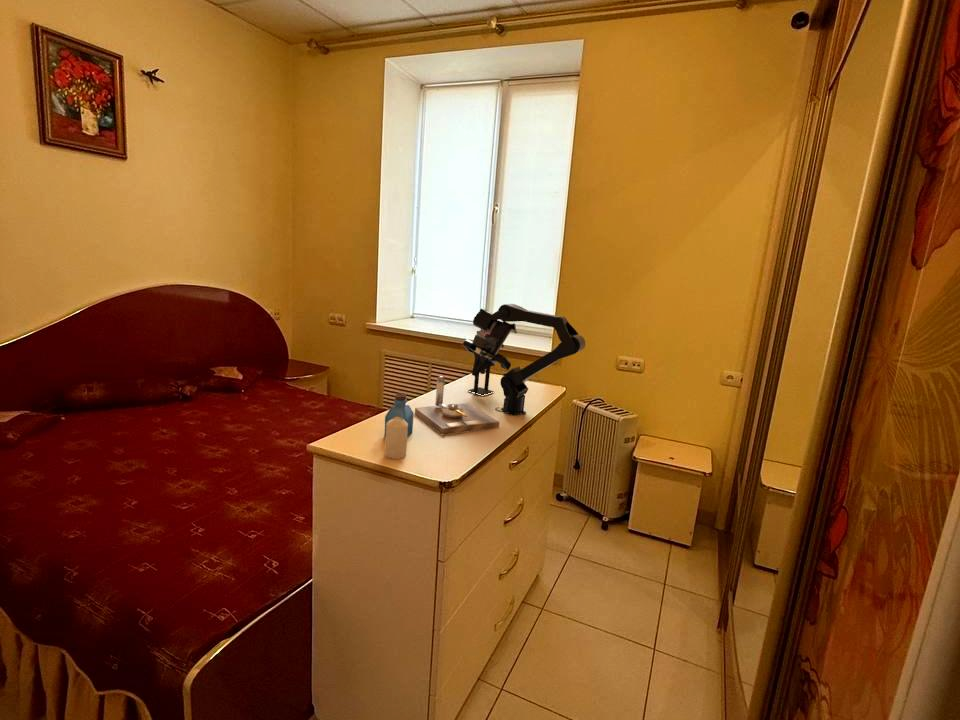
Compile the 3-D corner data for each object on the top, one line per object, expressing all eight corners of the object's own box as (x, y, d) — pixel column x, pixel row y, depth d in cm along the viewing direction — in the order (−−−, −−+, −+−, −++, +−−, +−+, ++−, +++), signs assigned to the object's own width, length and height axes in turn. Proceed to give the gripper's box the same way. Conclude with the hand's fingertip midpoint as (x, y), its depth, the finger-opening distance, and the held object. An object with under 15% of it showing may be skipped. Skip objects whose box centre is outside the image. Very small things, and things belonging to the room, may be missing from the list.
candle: (385, 450, 131) (387, 414, 129) (406, 451, 132) (408, 415, 130) (383, 458, 126) (385, 421, 124) (405, 459, 126) (407, 422, 124)
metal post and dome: (445, 404, 167) (447, 374, 164) (474, 422, 152) (477, 389, 150) (428, 406, 163) (430, 375, 161) (456, 424, 148) (459, 391, 146)
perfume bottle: (405, 440, 139) (407, 399, 137) (384, 437, 140) (386, 396, 138) (412, 433, 145) (414, 393, 143) (392, 429, 146) (394, 390, 144)
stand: (467, 408, 172) (468, 401, 172) (498, 427, 156) (499, 420, 155) (414, 413, 162) (415, 406, 162) (441, 434, 146) (442, 426, 145)
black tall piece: (479, 397, 187) (487, 318, 181) (465, 392, 192) (471, 315, 185) (496, 392, 195) (503, 317, 189) (481, 388, 200) (488, 314, 193)
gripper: (467, 317, 169) (442, 355, 167) (508, 335, 158) (482, 376, 156) (481, 332, 178) (458, 368, 176) (521, 350, 167) (497, 389, 165)
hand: (473, 375), depth 168 cm, fingers closed
